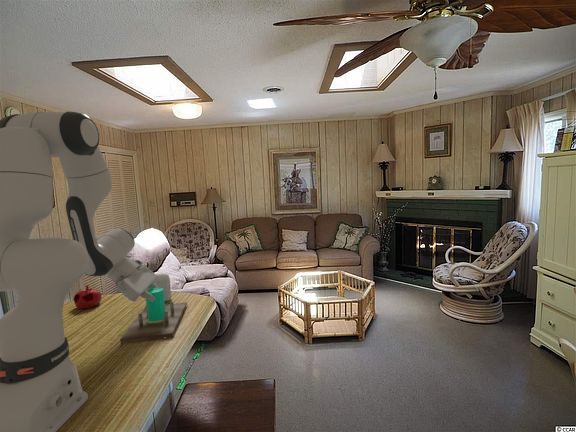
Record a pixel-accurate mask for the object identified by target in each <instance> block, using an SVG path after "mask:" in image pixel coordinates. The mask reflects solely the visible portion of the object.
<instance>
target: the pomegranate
mask: <svg viewBox="0 0 576 432" xmlns="http://www.w3.org/2000/svg"><path fill="white" fill-rule="evenodd" d="M72 300H73V303H74V305H75V307H76V308H77V309H80V310H82V309H90V308H93V307H96V306H97V305H99V304H100V303H101V302H102V293H101V292H100V291H99V290H97V289H95V288H94V286H92V287H91V288H90V287H89V284H86V285H85V289H83V288H80V289H79V290H78V291H77V292H76V294H74V296H73V299H72Z"/></svg>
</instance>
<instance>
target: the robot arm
mask: <svg viewBox="0 0 576 432" xmlns="http://www.w3.org/2000/svg"><path fill="white" fill-rule="evenodd" d="M99 144H100V132H99V129H98V127H97V125H96V123H95V122H94V120H92V119H91V118H90V117H89V116H88V115H87V114H85V113H82V112H78V111H77V112H76V111H66V112H62V111H35V112H34V111H33V112H29V113H23V114H20V113H19V114H18V113H16V114H10V115H8V116H5V117H2V118H1V119H0V293H1V292H11V291H16V292H17V294H18V299H17V305H16V306H14V307H13V308H11V309H10V310H8V311H7V312H6V313H4V314H3V315H2V316H1V318H0V432H58V430H59V429H61V428H62V427H63V425H64V424H65V423H66V422H67V421H68V420H69V419H70V418H71V417H73V415H74V414H75V413H76V412H77V411H78V410H79V409H80V408H81V407H82V406H83V405H84V404H85V403H86V402H87V400H88V399H89V395H88V393H87V392H86V391H84V390H83V387H82V383H81V380H80V376H79V372H78V368H77V366H76V364H74V363H73V361H72V360H71V358H70V356H69V354H70V344H69V342H68V341H69V340H68V338H67V337H66V336H65V328H64V314H63V312H64V311H63V309H64V303H65V300H66V297H67V295H68V293H69V291H70V290H71V288H72V287H73V286H74V285H75V284H76V283H78V282H79V281H80V280H81V279H82V278H83V276H84V275H87V276H89V277H104V276H107V278H109V279H110V280H112V281H113V282H115V286H116V287H117V289H118V291H119V292H120V294H122V295H123V297H125V298H126V299H128V300H129V301H131V302H136V301H137V300H138V299H139V297H141V298H142V299H145V300H146V299H149V300H150V301H151V302H153V301H154V300H155V299H156V297H155V296H154V295H152V294H150V293H148V291H147V290H146V289H147V288H150V289H152V288H158V287H157V286H156V284H155V283H154V281H155V279H156V278H157V276H156V275H155V274H156V273H155V272H154V271H152V270H151V269H150V268H149V267H147V266H146V265H143V264H144V262H143V261H141V260H140V259H131V258H129V257H128V256H127V255H128V254H129V253H130V252H131V251H132V250H133V249H134V248H135V244H136V243H135V238H134V236H133V235H132V233H130V232H129V231H128V230H126V229H124V228H120V227H115V228H113V229H111V230H109V231H108V232H105V233H104V234H102V235H97V234H96V230H95V226H94V217H95V214H96V211H97V210H98V209H99V206H101V204H102V203H103V202H104V200H106V198H107V197H108V196H109V195H110V192H111V190H112V187H113V180H112V179H113V178H112V175H111V173H110V170H109V167H108V165H107V161H106V159H105V157H104V155H103V153H102V151H101V149H100V147H99ZM51 158H58V160H59V162H60V166H61V170H62V171H63V174H64V176H65V179H66V181H67V188H68V189H67V190H68V191H67V193H68V196H67V200H66V202H65V212H66V217H67V221H68V224H69V228H70V232H71V235H72V239H69V238H67V239H66V238H60V237H59V238H58V237H43V238H30V237H31V233H32V231H33V229H34V228H35V226H36V225H37V224H38V223H39V222H41V221H43V220H45V219H46V218H48V217H49V216H50V215H51V214H52V212H53V209H54V181H53V180H54V179H53V177H54V176H53V175H54V174H53V173H54V172H53V164H52V159H51Z"/></svg>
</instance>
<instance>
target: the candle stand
mask: <svg viewBox="0 0 576 432" xmlns="http://www.w3.org/2000/svg"><path fill="white" fill-rule="evenodd" d="M187 303H188V302H180V303H179V302H177V303H174V301H170V302H169V303H167V304H166V303H165V311H164V315H165V318H164V319H162V320H159V321H154V322H152V321H149V320H148V313H147V304H146V303H145V307H144V309H142V311H141V312H140V313H138V314H137V315H138V316H137V317H136V318H135V319H134V321H133V322H132V324H131V325H130V326H129V327H128V329H127V330H126V331H125V333H123V335H122V336H121V338H120V339H119V341H120V344H127V343H129V344H130V343H137V341H138V342H145V341H144V340H146V341H151V339H155V340H160V339H159V338H163V339H165V338H164V337H171V338H174V336H173V335H175V334H176V331H177V329H178V327H179V325H178V324H180V322H181V320H182V318H183V316H184V313H185V311H186V309H185V308H187V307H186V305H187V306H188V304H187ZM184 310H185V311H184ZM183 312H184V313H183ZM182 315H183V316H182ZM181 317H182V318H181ZM180 319H181V320H180ZM179 321H180V322H179ZM177 326H178V327H177ZM176 328H177V329H176ZM174 333H175V334H174Z"/></svg>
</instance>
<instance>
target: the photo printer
mask: <svg viewBox="0 0 576 432" xmlns="http://www.w3.org/2000/svg"><path fill="white" fill-rule="evenodd" d="M155 275H156V276H157V278H156V279H155V281H154V283H155V284H156V286H157V287H158V288H163V290H164V300H165V302H169V301H171V300H172V291H171V278H170V276H169V274H168V273H155ZM149 289H150V288H147V289H146V290H149ZM146 304H147V303H146V302H145V305H146Z"/></svg>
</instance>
